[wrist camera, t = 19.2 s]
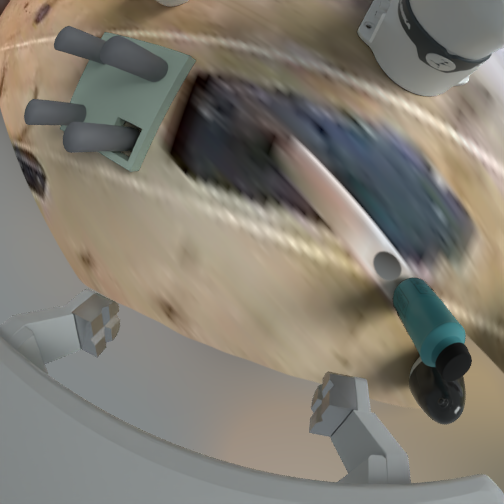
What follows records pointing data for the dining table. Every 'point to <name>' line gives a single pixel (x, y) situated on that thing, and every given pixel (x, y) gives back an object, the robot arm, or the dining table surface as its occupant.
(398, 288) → the beverage bottle
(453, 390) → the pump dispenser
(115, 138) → the stool leg
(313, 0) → the dining table surface
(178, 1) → the candle holder
